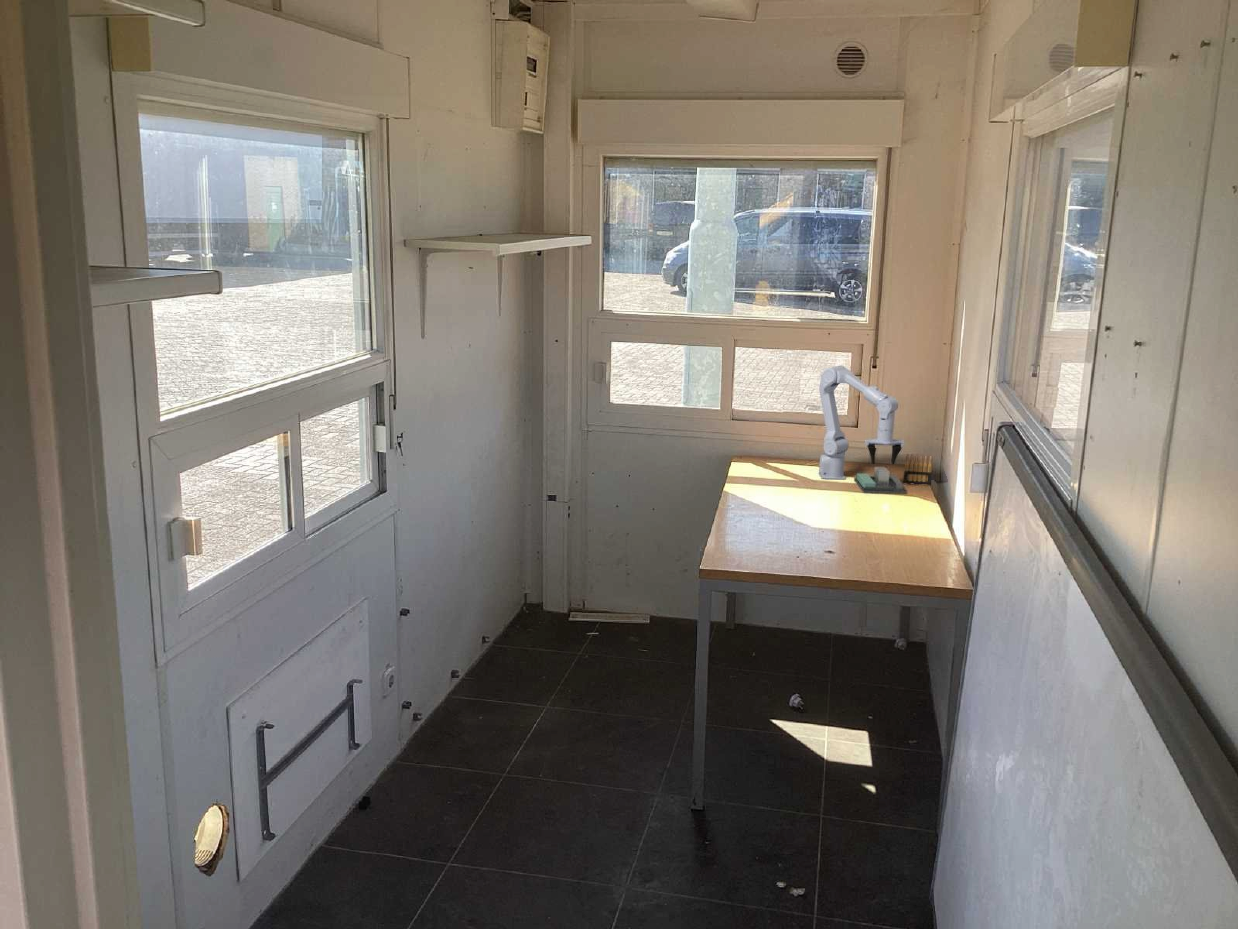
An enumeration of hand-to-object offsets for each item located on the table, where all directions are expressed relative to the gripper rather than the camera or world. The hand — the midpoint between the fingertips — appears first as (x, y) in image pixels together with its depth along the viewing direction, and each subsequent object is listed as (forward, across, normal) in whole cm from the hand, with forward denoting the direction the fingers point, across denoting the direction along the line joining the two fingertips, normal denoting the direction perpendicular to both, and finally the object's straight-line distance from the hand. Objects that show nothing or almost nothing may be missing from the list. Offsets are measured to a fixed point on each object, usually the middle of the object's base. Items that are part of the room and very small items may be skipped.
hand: (882, 463), depth 416 cm
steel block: (+8, 0, 0) cm, 8 cm away
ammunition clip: (+10, +16, +6) cm, 19 cm away
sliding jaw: (+8, -6, 0) cm, 10 cm away
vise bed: (+9, 0, 0) cm, 9 cm away
